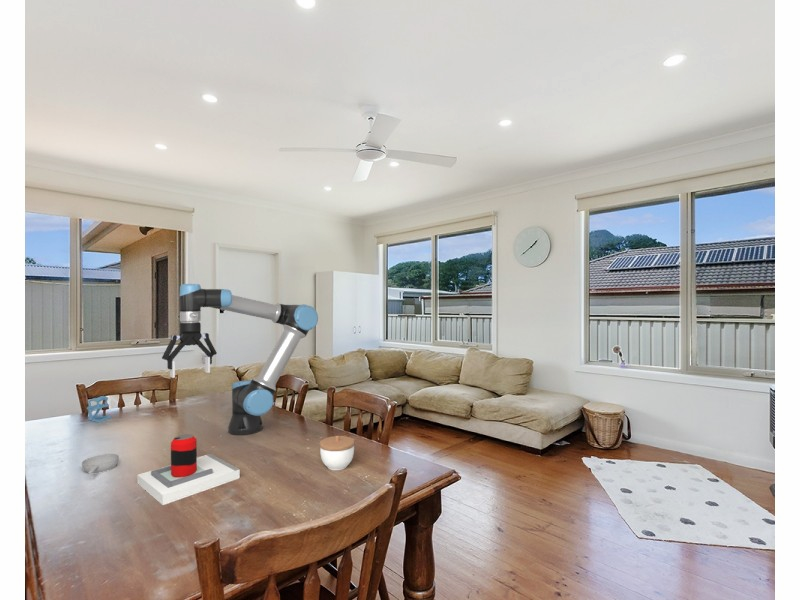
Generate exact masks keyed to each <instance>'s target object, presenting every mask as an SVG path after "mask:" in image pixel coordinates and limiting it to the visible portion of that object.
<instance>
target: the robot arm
mask: <svg viewBox="0 0 800 600" xmlns="http://www.w3.org/2000/svg"><path fill="white" fill-rule="evenodd" d="M201 308H212V309H217V310H223V311H228V312H232V313H237V314H242V315H246V316H251V317H255V318H260V319H265V320H270V321H271V322H272V323H274V324H278V325H282V327H283V332H282V333H281V335H280V337H279V339H278V341H277V342H276V343H275V346H274V348H273V350H272V351H271V353H270V355H269V356H268V358H267V360H266V361H265V363H264V365H263V366H262V369H261V370H260V371H259V373H258V375H257V377H254V378H251V379H248V380H247V379H245V380H239V381H235V382H233V383H232V387H231V393H232V394H231V404H232V406H231V409H232V411H231V412H232V414H231V417H230V421H229V423H228V428H227V429H228V434H230V435H235V436H245V435H251V434H256V433H258V432H261V431H262V430H263V429H264V423H263V420H262V417H261V416H263V415H265V414H267V413H268V412H269V411H271V408H272V407H273V406H274V402H275V401H274V396H275V393H276V391H277V388H276V385H277V382H278V381H279V379H280V377H281V375H282V374H283V372H284V370H285V369H286V367H287V365H288V363H289V361H290V359H291V357H292V356H293V354H294V352H295V350H296V348H297V346H298V345H299V343H300V341H301V339H303V338H306V337H307V335H308V334H309V331H311V330H313V329H314V328H315V327H316V326H317V325H318V322H319V315H318V312H317V310H316V309H315V307H313V306H311V305H308V304H283V303H276V304H274V303H270V302H264V301H261V300H256V299H251V298H247V297H242V296H239V295H234V294H232V291H231V290H230V289H228V288H227V289H225V288H208V289H207V288H201V285H200V283H182V284H181V285H180V287H179V322H180V323H179V335H175V334H171V336H170V341H169V343H168V345H167V346H166V348H165V350H164V352H163V354H162V356H161V359H162V360H165V361H167V367H166V368H167V369H168V370H169V378H172V379H173V378H176V367H175V366H176V362H175V360H174V359H175V358H176V357H177V356H178V354H179V353H180V351H182V349H183V348H184V347H186V346H187V347H188V346H189V347H190V346H197V347H198V348H199V349H200V350H201V351H202V352H203V353H204V354H205V355H206V356H204V364H205V365H204V372H205V373H207V374H210V373H211V366H210V365H212V364H213V357H214V356H215V355H217V350H216V349H215V346H214V345H213V343H212V341H211V339H210V334H209V333H207V332H203V333H201V329H202V328H201V327H202V325H201V324H202V323H201V321H202V319H201V317H202V316H201V315H202V314H201V311H202V309H201ZM201 339H203V340H204V343H205V344H206V346H207V347H206V346H205V345H204V344H203V342H202V341H201ZM178 340H179V343H178V344H177V346H176V347H175V345H176V343H177V341H178ZM174 347H175V348H174ZM173 349H174V350H173Z"/></svg>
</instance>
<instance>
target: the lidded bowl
mask: <svg viewBox="0 0 800 600" xmlns="http://www.w3.org/2000/svg"><path fill="white" fill-rule="evenodd" d="M319 453H320V458H321V461H322V463H323V464H324V465H325V466H326V467H327V469H328V470H330V471H342V470H346V468H347V467H348V465H350V464H351V462H352V460H353V459H354V454H355V439H354V438H353V437H350V436H346V435H334V436H329V437H325V438H323V439H321V440H320V442H319Z"/></svg>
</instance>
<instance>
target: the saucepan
mask: <svg viewBox="0 0 800 600" xmlns="http://www.w3.org/2000/svg"><path fill="white" fill-rule="evenodd" d="M119 457H120V456H119V454H117V453H106V454H98V455H95V456H90V457H88V458H86V459H84V460H83V461H82V462H81V467H82V470H83V471H84V472H85V473H86V474H89V473H96V474H100V473H99V472H102V473H104V472H103V471H106V472H108V471H107V470H109V471H110V469H111V470H113V469H115V467H116V466H117V465H118V462H119ZM112 468H113V469H112Z"/></svg>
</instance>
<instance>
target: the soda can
mask: <svg viewBox="0 0 800 600" xmlns="http://www.w3.org/2000/svg"><path fill="white" fill-rule="evenodd" d="M197 441H198V440H197V438H196V436H194V435H193V434H191V433H189V434H188V433H185V434H179V435H177V436H175V437H174V438H173V439H172V441H171V442H170V465H171V475H172V476H173V477H178V478H179V477H186V476H189V475H192V474H194V473H195V472H196V470H197V457H198V456H197V455H198V454H197V453H198V452H197Z"/></svg>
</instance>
